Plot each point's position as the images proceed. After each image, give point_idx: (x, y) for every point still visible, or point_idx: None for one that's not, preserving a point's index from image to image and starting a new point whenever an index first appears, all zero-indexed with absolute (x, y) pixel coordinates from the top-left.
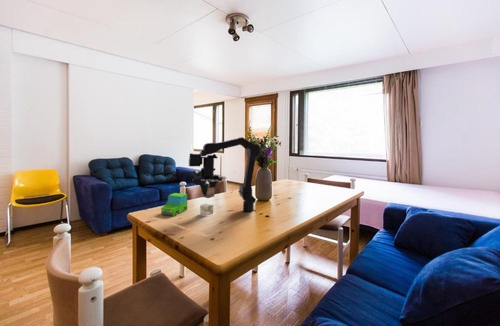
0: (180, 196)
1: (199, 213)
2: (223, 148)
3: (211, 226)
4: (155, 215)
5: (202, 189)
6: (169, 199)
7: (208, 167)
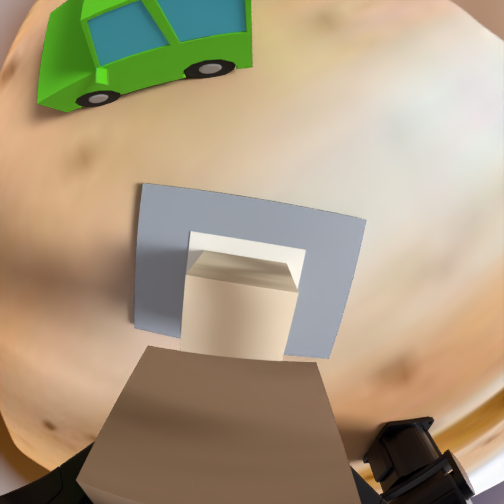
0: (84, 9)
1: (212, 235)
2: None
3: (105, 400)
4: None
5: (62, 483)
6: None
7: None
